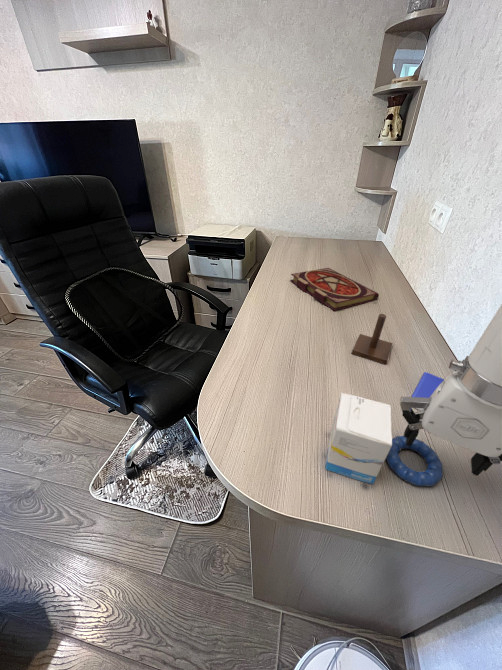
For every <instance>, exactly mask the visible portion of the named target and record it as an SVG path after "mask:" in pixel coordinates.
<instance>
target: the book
mask: <svg viewBox="0 0 502 670" xmlns="http://www.w3.org/2000/svg"><path fill="white" fill-rule="evenodd" d="M290 275H291V276H292V277H293V278H292V279H290V280H289V281H290V282H291V283H292V284H294V285H295V286H296V287H297V288H299V289H300V290H302V291H303V292H304V293H307V294H309V295H310V296H312V297H313V299H315V300H316V301H318V302H319V303H320V304H322V305H324V306H327V307H328V308H329V309H331V310H332V311H334V312H336V311H340V310H343V309H344V310H345V309H348V308H351V307H354V306H359V305H362V304H367V303H370V302H374V301H377V300H378V299H379V296H380V294H379V292H376V291H374V290H373V289H370V288H369V287H367V286H365V285H364V284H361V283H359V282H357V281H355V280H353V279H351V278H349V277H347V276H346V275H344V274H341V273H340V272H338V271H336V270H334V269H332V268H330V267H323V268H318V269H310V270H307V271H300V272H295V273H294V272H293V273H290Z"/></svg>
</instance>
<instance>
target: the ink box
mask: <svg viewBox="0 0 502 670" xmlns="http://www.w3.org/2000/svg"><path fill="white" fill-rule="evenodd" d="M328 438H329V439H328V445H327V451H326V452H327V453H326V461H325V465H324V466H325V467H324V469H325V471H329V472H332V473H335V474H338V475H341V476H344V477H346V478H347V477H348V478H350V479H353V480H356V481H359V482H363V483H366V484H370V485H374V484H375V481H376V479H377V478H378V477H377V476H378V475H379V473H380V471H381V469H382V467H383V465H384V462H385V461H386V460H387V459H386V457H387V455H388V453H389V451H390V448H391V446H392V439H393V429H392V405H390V404H388V403H384V402H381V401H377V400H374V399H369V398H366V397H361V396H358V395H354V394H350V393H345V392H340V396H339V399H338V402H337V406H336V410H335V414H334V417H333V420H332V424H331V428H330V431H329V437H328Z"/></svg>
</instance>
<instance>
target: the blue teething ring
mask: <svg viewBox="0 0 502 670" xmlns="http://www.w3.org/2000/svg"><path fill="white" fill-rule="evenodd" d="M406 440H407V438H406V437H404V435H396V436H395V437H392V446H391V448H390V451H389V453H388V455H387V457H386V459H385V460H386V461H387V464H388V466H389V468H390V469H391V470H392V471H393V472H394V473H395V474H396V475H397V476H398V477H399V478H400V479H401V480H403V481H405V482H407V483H409V484H412V485H414V486H416V487H433V486H435V485H436V484H437V483H438V482H439V481H441V479H443V473H444V470H443V469H444V468H443V467H444V465H443V463H442V461H441V459H440V457H439V456H438V454H437V452H436V450H434V449H433V448H431V447H430V446H429V445H428V444H427V443H425V441H423V440H420V439H418V438H416V439H415V440H414V442H413V443H412V445H411V446H407V445H406ZM403 449H410V450H411V451H414V452H417V453H418V454H419V455H420V456H421V457H422V458H424V461H425V462H426V464H427V469H425V470H424V471H417V470H415V469H413V468H410V467H409V466H408V465H406V464H405V463H404V462H403V461H402V459H401V457H400V454H399V453H400V451H401V450H403Z"/></svg>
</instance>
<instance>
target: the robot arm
mask: <svg viewBox="0 0 502 670" xmlns="http://www.w3.org/2000/svg"><path fill="white" fill-rule="evenodd" d="M448 369H450V370H453V371H452V372H451V373H450V374H449V375H447V377H446V378H444V381H443V382H442V383H441V384H440V385H439V386H438V387H437V388H436V390H435V391H434V392H433V394H432V395H431V396H430V398H423V397H411V396H401V397H400V401H399V405H400V409H401V412H402V417H403V418H404V420H405V421H406V423H407V425H406V428H405V429H404V432H403V436H404V437H406V438H407V440H406V445H407V446H411V445H412V443H413V442H414V440H415V439H417V437H418V435H419V434H420V430H424V431H426V432H427V433H429V434H431V435H433V436H435V437H437V438H440V439H442V440H445V441H447V442H449V443H452V444H454V445H457V446H459V447H461V448H464V449H466V450H469V451H471V452H474V454H473V456H471V459H470V465H471V469H470V470H471V474H472V475H473V476H475V477H479V476H480V475H481V473H483V472H487V470H488V469H490V468H491V466H492V465H500V464H501V463H502V303H501V304H500V305H499V307H498V309H497V311H496V313H495V314H494V316H493V317H492V319H491V320H490V321H489V323H488V325H487V326H486V328H485V329H484V331H483V333H482V334H481V336H480V337H479V339H478V341H477V342H476V344H475V345H474V347H473V348H472V351H471V352H470V354H469V355H466V357H465V358H464V359H463V360H457V359H456V360H455V359H451V361H450V362H449V365H448ZM416 408H424V411H420V410H419V411H416V412H414V409H416Z"/></svg>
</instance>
